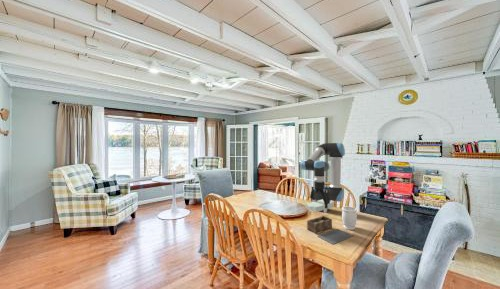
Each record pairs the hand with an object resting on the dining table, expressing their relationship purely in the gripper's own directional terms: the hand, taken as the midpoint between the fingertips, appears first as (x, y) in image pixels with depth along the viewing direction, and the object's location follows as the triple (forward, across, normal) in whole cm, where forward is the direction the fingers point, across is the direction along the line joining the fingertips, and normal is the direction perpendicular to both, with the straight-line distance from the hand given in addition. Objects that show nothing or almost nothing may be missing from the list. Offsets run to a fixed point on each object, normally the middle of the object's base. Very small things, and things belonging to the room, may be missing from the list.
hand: (319, 210), depth 157 cm
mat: (+14, +14, 0) cm, 20 cm away
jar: (+15, +11, +21) cm, 28 cm away
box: (+15, 0, 0) cm, 15 cm away
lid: (-2, 0, 0) cm, 2 cm away
